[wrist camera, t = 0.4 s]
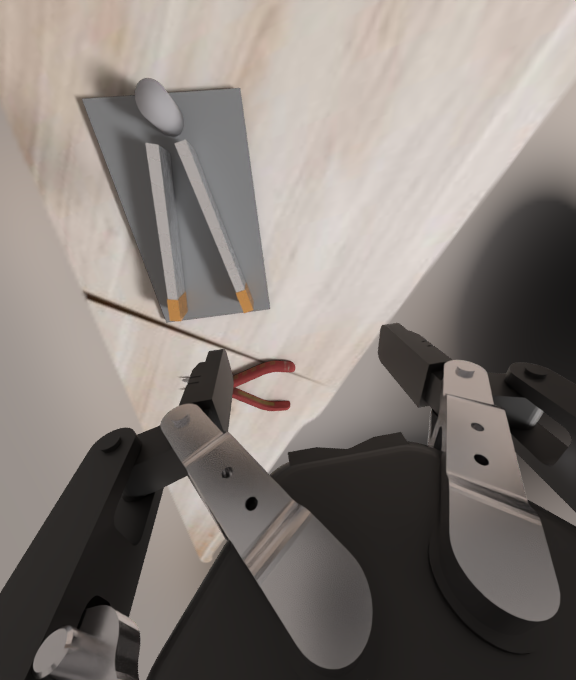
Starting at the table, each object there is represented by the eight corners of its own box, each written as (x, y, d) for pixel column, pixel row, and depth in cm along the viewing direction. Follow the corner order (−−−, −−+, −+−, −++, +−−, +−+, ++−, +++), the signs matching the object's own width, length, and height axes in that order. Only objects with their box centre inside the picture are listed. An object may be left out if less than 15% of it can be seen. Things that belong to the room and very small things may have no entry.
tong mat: (88, 102, 24) (47, 75, 20) (240, 92, 25) (237, 64, 21) (168, 319, 37) (155, 335, 32) (269, 306, 38) (271, 320, 33)
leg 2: (183, 152, 26) (173, 143, 23) (195, 148, 26) (186, 138, 23) (244, 303, 36) (243, 313, 32) (253, 301, 36) (253, 310, 32)
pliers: (181, 356, 40) (176, 364, 38) (295, 358, 44) (297, 366, 41) (187, 405, 46) (184, 415, 44) (288, 403, 49) (290, 413, 47)
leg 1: (157, 151, 26) (143, 142, 23) (171, 153, 26) (159, 144, 23) (178, 310, 35) (169, 320, 32) (187, 311, 35) (180, 321, 32)
